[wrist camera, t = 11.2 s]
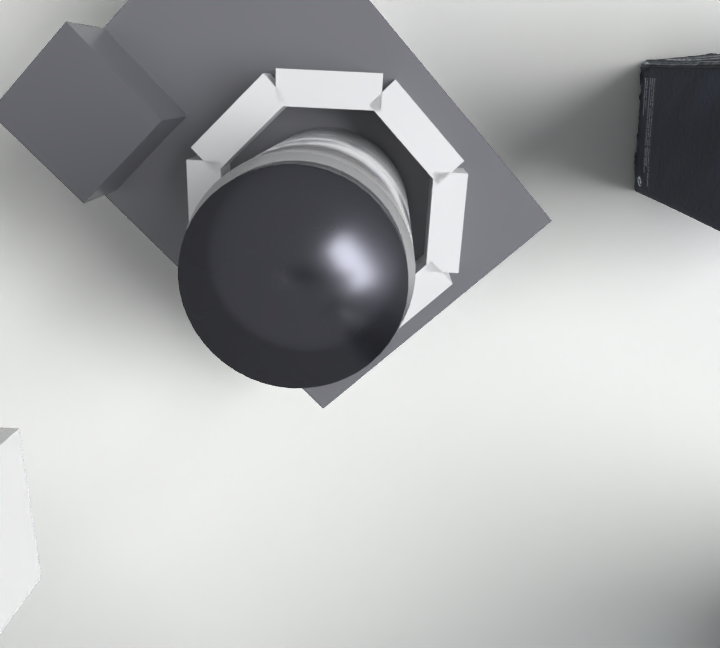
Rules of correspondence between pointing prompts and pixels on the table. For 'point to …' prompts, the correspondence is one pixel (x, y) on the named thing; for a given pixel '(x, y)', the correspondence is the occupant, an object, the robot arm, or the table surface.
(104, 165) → the camera body
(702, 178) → the small box
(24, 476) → the robot arm
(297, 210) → the lens
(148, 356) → the table surface
